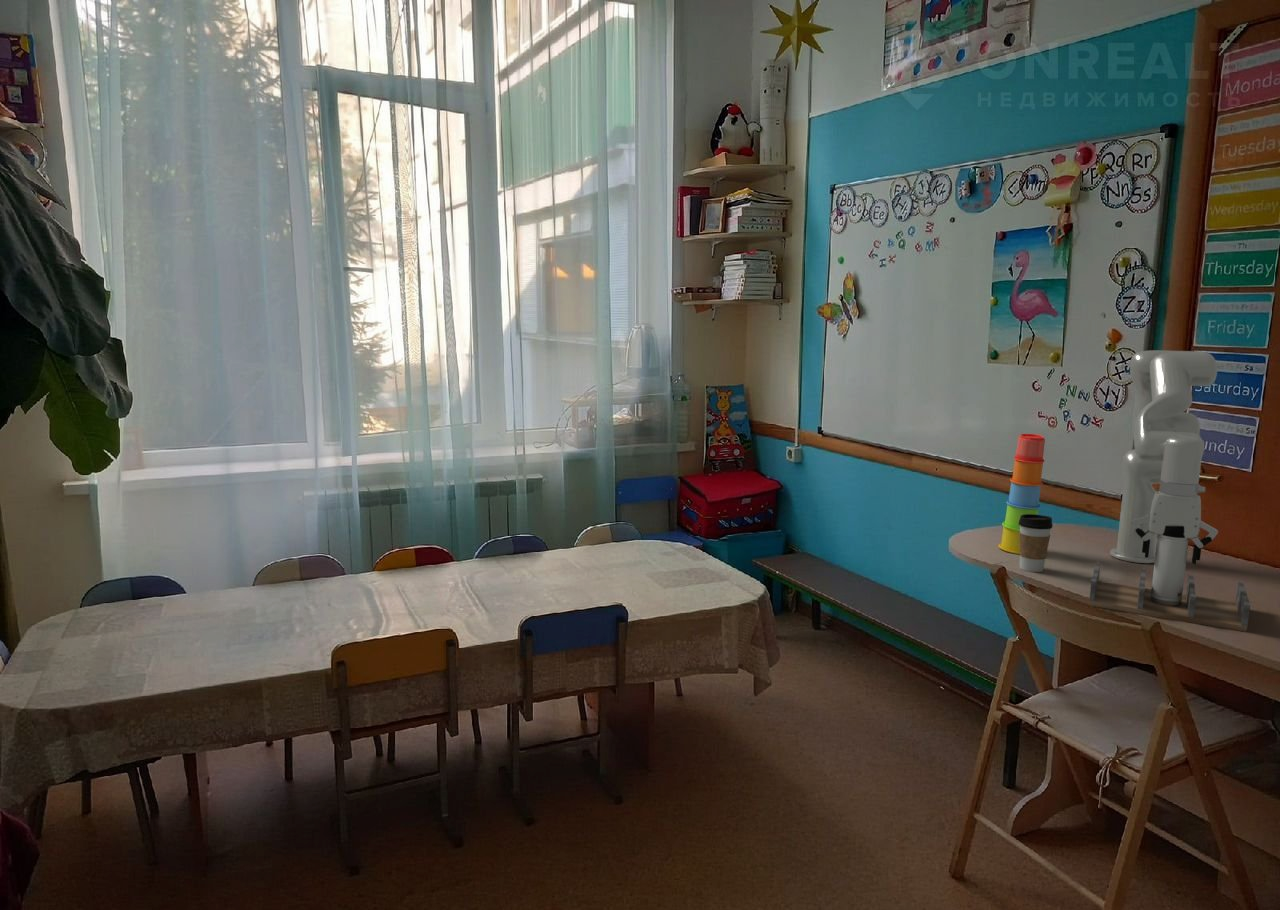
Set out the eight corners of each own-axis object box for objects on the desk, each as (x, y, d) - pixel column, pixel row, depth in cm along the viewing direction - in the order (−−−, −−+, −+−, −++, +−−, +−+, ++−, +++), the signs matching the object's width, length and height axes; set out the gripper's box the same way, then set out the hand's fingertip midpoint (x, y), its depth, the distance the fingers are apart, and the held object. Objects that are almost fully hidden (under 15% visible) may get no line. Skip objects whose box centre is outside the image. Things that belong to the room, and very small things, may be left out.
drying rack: (1093, 584, 216) (1096, 561, 215) (1239, 607, 200) (1243, 582, 199) (1088, 605, 201) (1091, 580, 200) (1246, 631, 185) (1250, 605, 184)
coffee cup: (1036, 575, 223) (1041, 521, 221) (1008, 567, 230) (1012, 514, 228) (1054, 570, 228) (1060, 517, 225) (1026, 562, 235) (1031, 510, 232)
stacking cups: (1030, 545, 251) (1040, 432, 245) (1040, 555, 241) (1051, 437, 235) (994, 544, 253) (1004, 431, 247) (1003, 553, 243) (1012, 436, 237)
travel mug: (1187, 607, 196) (1197, 524, 193) (1156, 605, 198) (1165, 523, 194) (1176, 598, 203) (1185, 518, 199) (1146, 596, 204) (1155, 517, 200)
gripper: (1222, 490, 194) (1212, 561, 197) (1136, 482, 203) (1128, 550, 206) (1224, 496, 188) (1214, 569, 191) (1135, 487, 197) (1127, 557, 200)
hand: (1169, 559), depth 198 cm, fingers open, 9 cm apart
